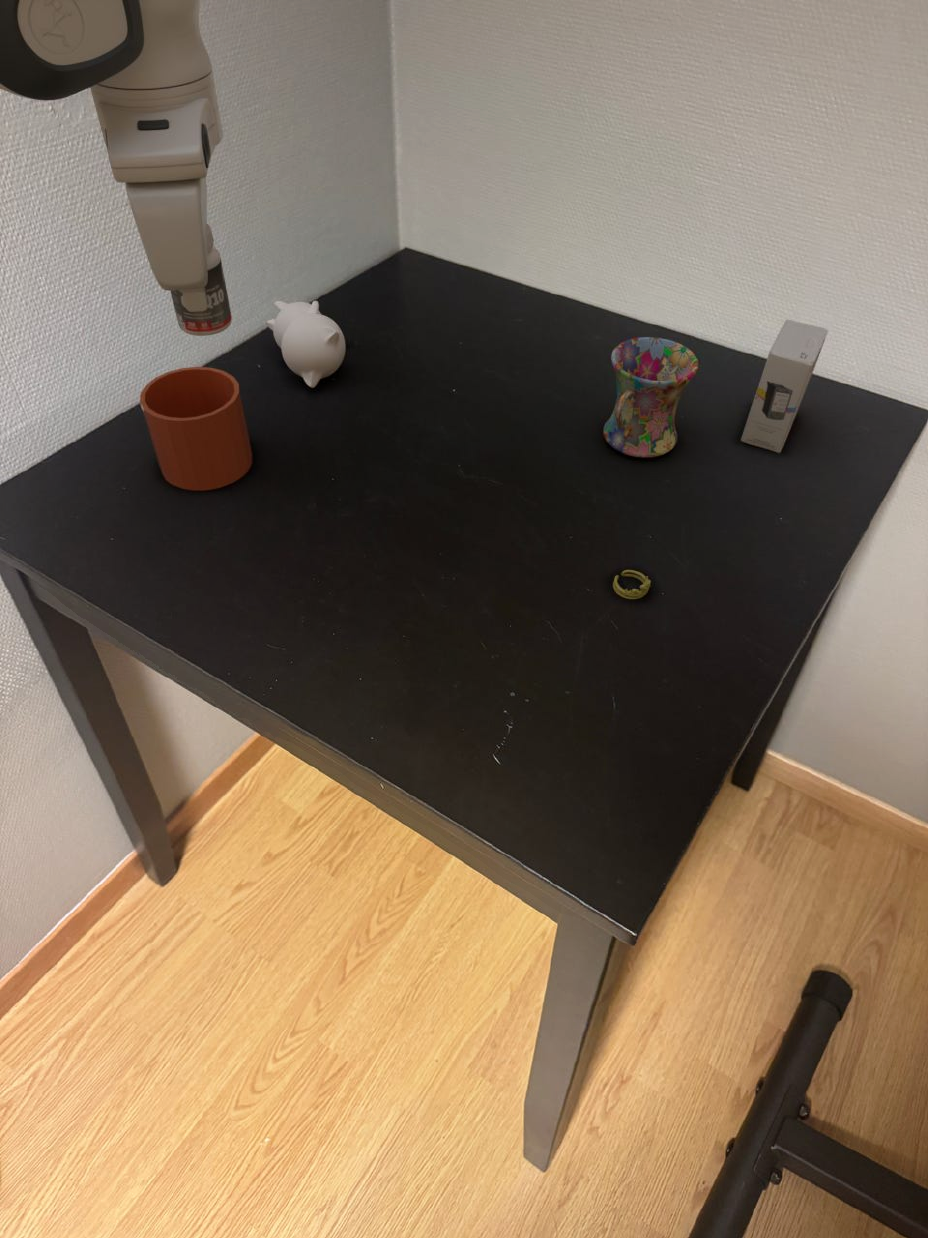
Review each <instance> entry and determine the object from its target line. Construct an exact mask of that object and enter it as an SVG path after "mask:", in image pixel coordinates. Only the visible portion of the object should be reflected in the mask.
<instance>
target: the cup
mask: <svg viewBox="0 0 928 1238" xmlns="http://www.w3.org/2000/svg"><path fill="white" fill-rule="evenodd" d="M139 404H140V407H141V411H142V414H143V417H144V421H145V423H146V426H147V427H146V428H147V430H148V434H149V437H150V440H151V443H152V448H153V451H154V455H155V456H156V461H157V464H158V468H159V469H160V473H161V475H162V477H163V478H164V480H165V481H166V482H168V483H169V484H171V485H172V486H174V487H177V488H179V489H183V490H188V491H210V490H217V489H221V488H223V487H226V486H228V485H230V484H233V483H235V482H237V481H239V480H241V478H242V477H244V476H245V475H246V474H247V473H248V472H249V470H250V468H251V467H252V464H253V460H254V458H253V457H254V455H253V451H252V445H251V439H250V434H249V430H248V423H247V419H246V414H245V410H244V403H243V398H242V394H241V389H240V385H239V382H238V380H236V378H235V376H234V375H232V374H230V373H228V372H227V371H224V370H222V369H218V368H214V367H208V366H190V367H182V368H178V369H174V370H169V371H166V372H165V373H162V374H160V375H158V376H156V377H154V378H153V379H151V380H150V381H149V382H148V383H147V384H145V386H144V387H143V389H142V391H141V392H140V395H139Z"/></svg>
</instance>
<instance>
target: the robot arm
mask: <svg viewBox="0 0 928 1238" xmlns="http://www.w3.org/2000/svg"><path fill="white" fill-rule="evenodd" d="M200 1H201V0H0V90H2V91H4V92H7V93H9V94H12V95H15V96H17V97H20V98H24V99H29V100H34V101H58V100H62V99H66V98H68V97H71V96H73V95H76V94H78V93H81V92H83V91H86V90H88V89H89V88H90V89H89V90H90V92H91V95H92V100H93V103H94V104H93V105H94V107H95V111H96V114H97V118H98V121H99V126H100V130H101V134H102V137H103V141H104V145H105V146H106V151H107V155H108V162H109V166H110V169H111V172H112V176H113V179H114V180H115V182H116V183H121V184H125V189H126V190H125V191H126V195H127V197H128V203H129V205H130V209H131V212H132V215H133V218H134V221H135V224H136V228H137V230H138V234H139V237H140V239H141V242H142V246H143V249H144V252H145V255H146V258H147V259H148V260H147V261H148V263H149V266H150V270H151V272H152V275H153V277H154V279H155V280H156V282H157V284H158V285H159V287H160V288H161V289H162V290H164V291H170V292H171V291H172V290H181V292H182V294H183V298H184V302H185V307H186V309H187V310H188V311H190V312H200V311H205V310H206V309H207V307H208V302H207V294H206V289H205V286H206V285H207V281H208V272H207V224H208V210H207V209H208V186H207V175H208V169H209V165H210V163H211V161H212V155H213V153H214V152H215V149H216V147H217V146H218V145H219V144H221V142H222V140H223V138H224V131H223V125H222V118H221V113H220V107H219V102H218V96H217V89H216V84H215V83H216V82H215V78H214V71H213V66H212V62H211V58H210V56H209V53H208V51H207V48H206V46H205V44H204V41H203V37H202V35H201V28H200V4H201V2H200Z"/></svg>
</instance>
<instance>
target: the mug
mask: <svg viewBox="0 0 928 1238" xmlns="http://www.w3.org/2000/svg"><path fill="white" fill-rule="evenodd" d="M610 360H611V364H612V366H613V370H614V374H615V380H616V381H615V382H616V398H615V399H616V400H615V404H614V408H613V411H612V413H611V415H610V417H609V418H608V419H607V421H606V422H605V423H604V426H603V428H602V429H603V431H602V433H603V437H604V439H605V441H606V442H607V445H609V446H610V447H611V448H612V449H614V450H616V451H618V452H619V453H621V454H624V455H627V456H629V457H635V458H655V457H660V456H663V455H665V454H667V453H669V452H670V451H671V450H673V449H674V447H675V446H676V444H677V442H678V433H677V430H676V426H675V418H676V417H675V416H676V410H677V408H678V407H677V406H678V403H679V401H680V398H681V396H682V394H683V392H684V391H685V389H686V387H687V386H688V384H689V383H690V381H691V380H692V378H694V376H696V374H697V372H698V370H699V359H698V358H697V356H696V354H694V352H693V351H692V350H690V349H689V348H688V347H687V346H684V345H683V344H681V343H679V342H676V341H674V340H671V339H666V338H663V337H662V338H661V337H653V336H645V337H643V336H641V337H634V338H630V339H627V340H625V341H623V342H621V343H619V344H618V345H616V346H615V347H614V349H613V350H612V352H611V355H610Z"/></svg>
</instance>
